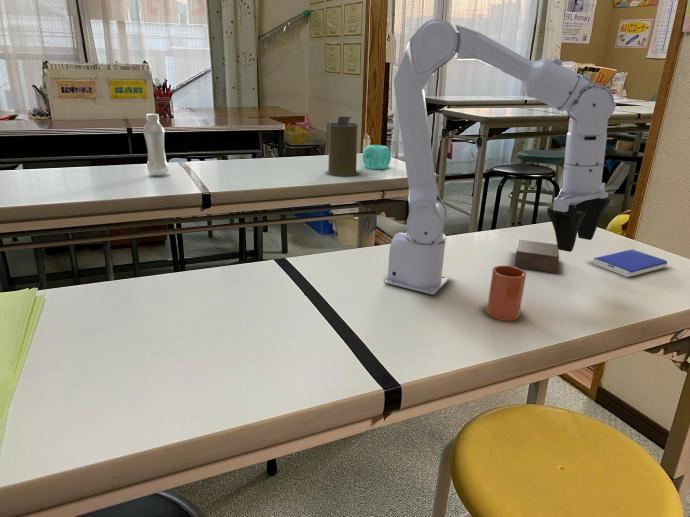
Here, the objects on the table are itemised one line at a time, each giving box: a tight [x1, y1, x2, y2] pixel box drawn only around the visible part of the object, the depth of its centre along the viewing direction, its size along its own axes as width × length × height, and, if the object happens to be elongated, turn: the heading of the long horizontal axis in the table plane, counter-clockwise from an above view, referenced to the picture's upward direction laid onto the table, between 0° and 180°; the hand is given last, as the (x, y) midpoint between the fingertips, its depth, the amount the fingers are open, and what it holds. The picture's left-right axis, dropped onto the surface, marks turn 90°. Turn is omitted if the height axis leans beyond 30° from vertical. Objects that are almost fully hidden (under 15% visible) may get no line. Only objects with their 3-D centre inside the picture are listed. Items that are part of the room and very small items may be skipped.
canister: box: [326, 115, 359, 177], centre depth 182 cm, size 11×10×20 cm
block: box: [513, 239, 560, 274], centre depth 106 cm, size 8×8×4 cm
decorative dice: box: [362, 144, 392, 170], centre depth 197 cm, size 8×8×8 cm
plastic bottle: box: [142, 113, 169, 177], centre depth 170 cm, size 6×7×20 cm
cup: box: [486, 265, 527, 322], centre depth 83 cm, size 5×5×8 cm
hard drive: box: [592, 248, 668, 278], centre depth 106 cm, size 2×8×12 cm
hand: (575, 244), depth 86 cm, fingers open, 7 cm apart
